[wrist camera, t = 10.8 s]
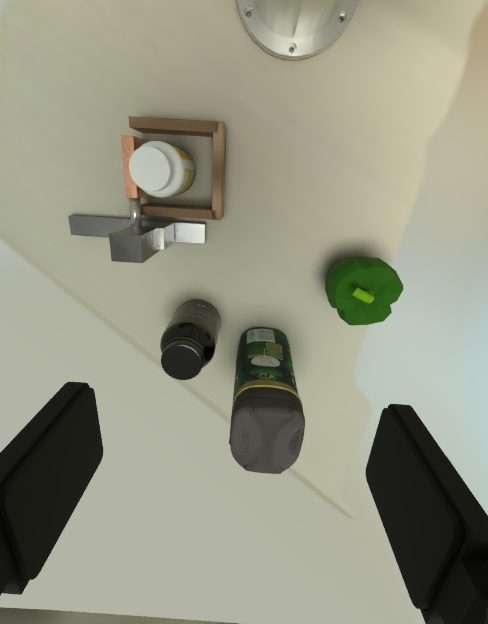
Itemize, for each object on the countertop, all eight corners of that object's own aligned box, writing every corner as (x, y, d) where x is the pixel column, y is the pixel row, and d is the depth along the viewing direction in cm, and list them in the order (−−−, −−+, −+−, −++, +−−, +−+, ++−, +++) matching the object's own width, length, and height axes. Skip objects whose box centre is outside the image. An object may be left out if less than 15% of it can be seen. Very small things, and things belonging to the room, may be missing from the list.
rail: (73, 214, 41) (68, 215, 40) (206, 223, 41) (204, 224, 40) (76, 233, 42) (71, 234, 41) (205, 241, 42) (204, 243, 41)
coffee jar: (284, 382, 50) (299, 486, 33) (235, 378, 50) (224, 480, 33) (293, 327, 47) (314, 413, 29) (239, 323, 47) (230, 406, 29)
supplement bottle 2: (212, 346, 48) (199, 396, 37) (169, 331, 48) (143, 377, 36) (228, 308, 46) (219, 349, 35) (183, 291, 45) (159, 327, 34)
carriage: (139, 141, 37) (90, 124, 26) (174, 143, 37) (139, 127, 26) (146, 239, 42) (105, 260, 31) (176, 241, 42) (147, 263, 31)
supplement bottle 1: (146, 151, 38) (113, 142, 29) (189, 142, 38) (169, 130, 29) (159, 198, 40) (131, 203, 31) (200, 190, 40) (184, 193, 31)
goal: (141, 122, 37) (128, 116, 33) (226, 127, 37) (222, 122, 33) (146, 211, 41) (135, 214, 37) (223, 216, 41) (220, 220, 37)
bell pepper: (392, 281, 43) (429, 309, 34) (342, 316, 46) (363, 350, 36) (359, 233, 41) (390, 249, 32) (308, 272, 43) (322, 297, 34)
